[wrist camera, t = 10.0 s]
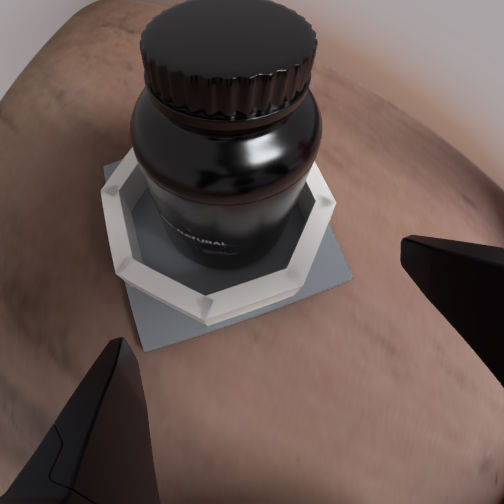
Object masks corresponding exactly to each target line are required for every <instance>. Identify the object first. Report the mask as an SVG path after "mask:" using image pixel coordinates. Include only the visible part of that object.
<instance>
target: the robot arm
mask: <svg viewBox="0 0 504 504" xmlns="http://www.w3.org/2000/svg"><path fill="white" fill-rule="evenodd" d="M400 261H401V265H402V267H403V268H404V269H405V271H406V272H407V273H408V274H409V276H410V277H411V278H412V280H413V281H414V282H415V283H416V285H417V286H418V287H419V289H420V290H421V291H422V292H423V294H424V295H425V296H426V297H427V299H428V300H429V301H430V302H431V303H432V304H433V305H434V306H435V307H436V308H437V310H438V311H439V312H440V313H441V314H442V315H443V316H444V317H445V318H446V319H447V321H448V322H449V323H450V324H451V325H452V326H453V327H454V328H455V329H456V331H457V332H458V333H459V334H460V335H461V336H462V337H463V339H464V340H465V341H466V342H467V343H468V344H469V346H470V347H471V348H472V349H473V350H474V351H475V353H476V354H477V355H478V356H479V357H480V359H481V360H482V361H483V362H484V363H485V365H486V366H487V367H488V368H489V370H490V371H491V372H492V373H493V375H494V376H495V377H496V378H497V380H498V381H499V382H500V383H501V385H502V386H503V388H504V249H503V248H501V247H495V246H488V245H482V244H475V243H468V242H462V241H455V240H448V239H440V238H433V237H426V236H418V235H410V236H407V237H405V238H403V239H402V241H401V257H400ZM0 504H160V499H159V494H158V488H157V482H156V476H155V469H154V462H153V455H152V447H151V439H150V431H149V421H148V412H147V406H146V400H145V396H144V391H143V386H142V381H141V376H140V370H139V365H138V361H137V359H136V357H135V355H134V353H133V351H132V350H131V348H130V346H129V345H128V343H127V341H126V340H125V339H124V338H123V337H120V338H116V339H113V340H110V341H109V343H108V344H107V345H106V347H105V348H104V350H103V351H102V352H101V354H100V355H99V357H98V358H97V360H96V361H95V362H94V364H93V365H92V367H91V368H90V370H89V371H88V373H87V374H86V375H85V377H84V378H83V380H82V381H81V383H80V384H79V386H78V387H77V389H76V390H75V392H74V393H73V395H72V396H71V398H70V399H69V401H68V402H67V404H66V405H65V407H64V408H63V410H62V411H61V413H60V414H59V416H58V418H57V419H56V421H55V424H53V425H52V427H51V428H50V430H49V432H48V433H47V435H46V436H45V438H44V439H43V441H42V442H41V444H40V445H39V447H38V448H37V450H36V451H35V453H34V454H33V455H32V457H31V458H30V460H29V461H28V462H27V464H26V465H25V466H24V468H23V469H22V471H21V472H20V473H19V475H18V476H17V477H16V479H15V480H14V482H13V483H12V484H11V486H10V487H9V489H8V490H7V491H6V492H5V493H4V494H3V495H2V496H1V497H0Z"/></svg>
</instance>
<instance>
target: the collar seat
mask: <svg viewBox="0 0 504 504" xmlns="http://www.w3.org/2000/svg"><path fill="white" fill-rule="evenodd" d="M103 169H104V176H105V183H106V184H105V185H104V187H103V188H102V190H101V191H100V192H101V197H102V204H103V210H104V216H105V222H106V228H107V233H108V239H109V244H110V249H111V254H112V259H113V263H114V268H115V273H116V275H118V276H119V277H120V278H121V279H123V280H124V281H125V285H126V289H127V293H128V297H129V301H130V305H131V309H132V312H133V316H134V320H135V323H136V327H137V330H138V333H139V337H140V340H141V343H142V347H143V350H144V352H149V351H153V350H156V349H159V348H163V347H166V346H169V345H172V344H176V343H179V342H182V341H185V340H188V339H191V338H195V337H198V336H201V335H204V334H207V333H210V332H213V331H216V330H219V329H222V328H225V327H228V326H231V325H234V324H236V323H239V322H242V321H245V320H248V319H251V318H254V317H256V316H259V315H262V314H265V313H268V312H270V311H273V310H276V309H279V308H281V307H284V306H287V305H289V304H292V303H295V302H297V301H300V300H303V299H305V298H308V297H311V296H313V295H316V294H318V293H321V292H323V291H326V290H329V289H331V288H334V287H336V286H339V285H341V284H344V283H346V282H349V281H351V280H352V279H353V275H352V273H351V271H350V268H349V266H348V264H347V262H346V259H345V257H344V255H343V253H342V250H341V248H340V246H339V244H338V241H337V239H336V237H335V235H334V233H333V231H332V228H331V226H330V224H329V220H330V218H331V215H332V213H333V210H334V207H335V205H336V202H335V200H334V198H333V196H332V194H331V192H330V190H329V188H328V186H327V184H326V182H325V180H324V178H323V176H322V174H321V173H320V171H319V169H318V167H317V165H316V163H315V161H314V163H313V165H312V167H311V170H310V172H309V174H308V177H307V179H306V181H305V184H304V186H303V188H302V190H301V193H300V195H299V197H298V200H297V202H296V204H295V207H294V209H293V211H292V213H291V216H290V218H289V220H288V223H287V225H286V227H285V229H284V231H283V233H282V235H281V237H280V239H279V241H278V242H277V243H276V245H275V246H274V247H273V249H272V250H271V251H270V252H269V253H268V254H267V255H265V256H264V257H263V258H261V259H260V260H258V261H257V262H255V263H253V264H250V265H248V266H245V267H241V268H237V269H228V270H220V269H213V268H208V267H205V266H202V265H199V264H197V263H195V262H193V261H191V260H190V259H188V258H187V257H185V256H184V255H183V254H182V253H181V252H180V251H179V250H178V249H177V248H176V247H175V245H174V244H173V243H172V241H171V239H170V238H169V235H168V233H167V232H166V229H165V227H164V225H163V223H162V220H161V218H160V216H159V213H158V211H157V209H156V206H155V204H154V201H153V199H152V197H151V194H150V192H149V189H148V187H147V184H146V182H145V180H144V177H143V175H142V172H141V170H140V167H139V164H138V162H137V159H136V157H135V154H134V150H133V147H132V148H131V149H130V151H129V152H128V153H127V155H126V156H125V157H124V159H121V160H119V161H116V162H113V163H110V164H108V165H105V166H103Z"/></svg>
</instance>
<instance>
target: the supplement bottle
mask: <svg viewBox="0 0 504 504" xmlns="http://www.w3.org/2000/svg"><path fill="white" fill-rule="evenodd" d="M141 38H142V39H141V40H140V50H141V55H142V60H143V65H144V69H145V71H144V80H145V85H146V86H145V88H144V89H143V91H142V92H141V94H140V95H139V97H138V99H137V101H136V104H135V106H134V109H133V112H132V116H131V122H130V137H131V143H132V146H133V150H134V154H135V157H136V159H137V162H138V164H139V167H140V170H141V172H142V175H143V177H144V180H145V182H146V184H147V187H148V189H149V192H150V194H151V197H152V199H153V201H154V204H155V206H156V209H157V211H158V213H159V216H160V218H161V220H162V223H163V225H164V227H165V229H166V232H167V233H168V235H169V238H170V239H171V241H172V243H173V244H174V245H175V247H176V248H177V249H178V250H179V251H180V252H181V253H182V254H183V255H184V256H185V257H187V258H188V259H190V260H191V261H193V262H195V263H197V264H199V265H202V266H205V267H208V268H213V269H220V270H228V269H237V268H241V267H245V266H248V265H250V264H253V263H255V262H257V261H258V260H260V259H261V258H263V257H264V256H265V255H267V254H268V253H269V252H270V251H271V250H272V249H273V247H274V246H275V245H276V243H277V242H278V241H279V239H280V237H281V235H282V233H283V231H284V229H285V227H286V225H287V223H288V220H289V218H290V216H291V213H292V211H293V209H294V207H295V204H296V202H297V200H298V197H299V195H300V193H301V190H302V188H303V186H304V184H305V181H306V179H307V177H308V174H309V172H310V170H311V167H312V165H313V163H314V160H315V158H316V155H317V152H318V149H319V146H320V143H321V138H322V118H321V113H320V109H319V106H318V103H317V101H316V99H315V97H314V95H313V93H312V92H311V90H310V88H309V84H310V80H311V69H312V66H313V62H314V59H315V54H316V49H317V39H316V33H315V31H314V30H312V28H311V24H309V23H308V22H307V21H305V18H304V17H302V16H300V15H298V14H297V13H296V12H295V11H294V10H291V9H288V8H287V7H285V6H284V5H281V4H277V3H275V2H273V1H269V0H187V1H185V2H183V3H180V4H176V5H173V6H172V7H171V8H169V9H166V10H163V11H162V12H161V13H160V14H159V15H157V16H155V17H153V19H152V21H151V22H150V23H148V24H147V25H146V29H145V30H144V31H143V32H142V35H141Z"/></svg>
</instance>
